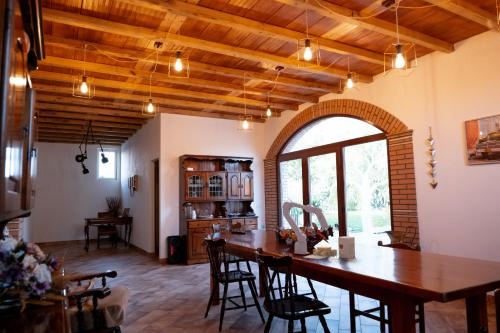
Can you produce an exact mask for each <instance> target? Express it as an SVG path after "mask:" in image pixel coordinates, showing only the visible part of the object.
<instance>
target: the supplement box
mask: <svg viewBox="0 0 500 333" xmlns="http://www.w3.org/2000/svg"><path fill="white" fill-rule="evenodd" d="M337 240H338V244H337V245H338V258H341V259H349V260H350V259H354V258H356V249H355V248H356V243H355V242H356V241H355V237H354V236H338V238H337Z"/></svg>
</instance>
